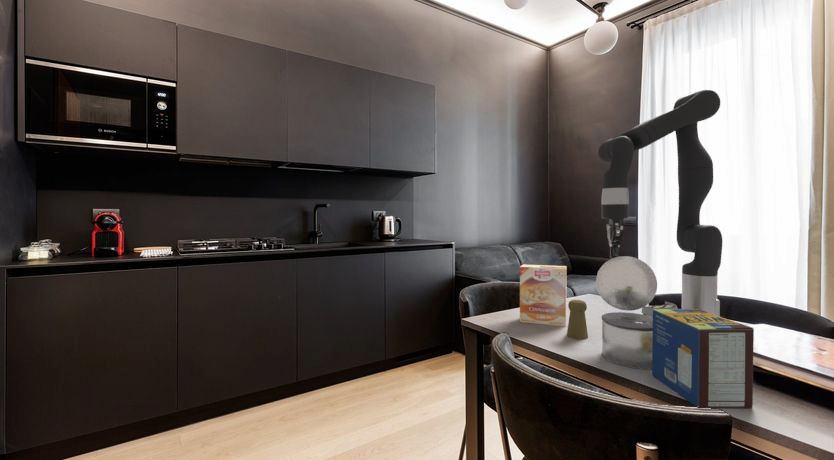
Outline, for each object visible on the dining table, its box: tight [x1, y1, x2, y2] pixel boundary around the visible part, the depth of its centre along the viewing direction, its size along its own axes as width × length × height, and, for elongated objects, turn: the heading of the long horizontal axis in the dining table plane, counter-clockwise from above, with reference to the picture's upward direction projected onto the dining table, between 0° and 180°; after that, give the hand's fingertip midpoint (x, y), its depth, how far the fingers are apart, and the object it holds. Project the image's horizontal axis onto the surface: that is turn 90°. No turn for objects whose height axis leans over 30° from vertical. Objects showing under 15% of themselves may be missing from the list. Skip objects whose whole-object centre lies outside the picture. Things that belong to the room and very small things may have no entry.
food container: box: [641, 301, 679, 317], centre depth 112 cm, size 12×6×10 cm, turn 117°
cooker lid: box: [595, 255, 658, 312], centre depth 107 cm, size 15×15×3 cm
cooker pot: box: [601, 311, 653, 370], centre depth 98 cm, size 14×14×10 cm
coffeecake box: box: [519, 263, 568, 328], centre depth 131 cm, size 15×7×20 cm, turn 67°
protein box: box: [651, 308, 755, 409], centre depth 80 cm, size 10×15×16 cm
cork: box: [566, 299, 589, 340], centre depth 116 cm, size 6×6×11 cm
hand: (614, 259), depth 118 cm, fingers closed
